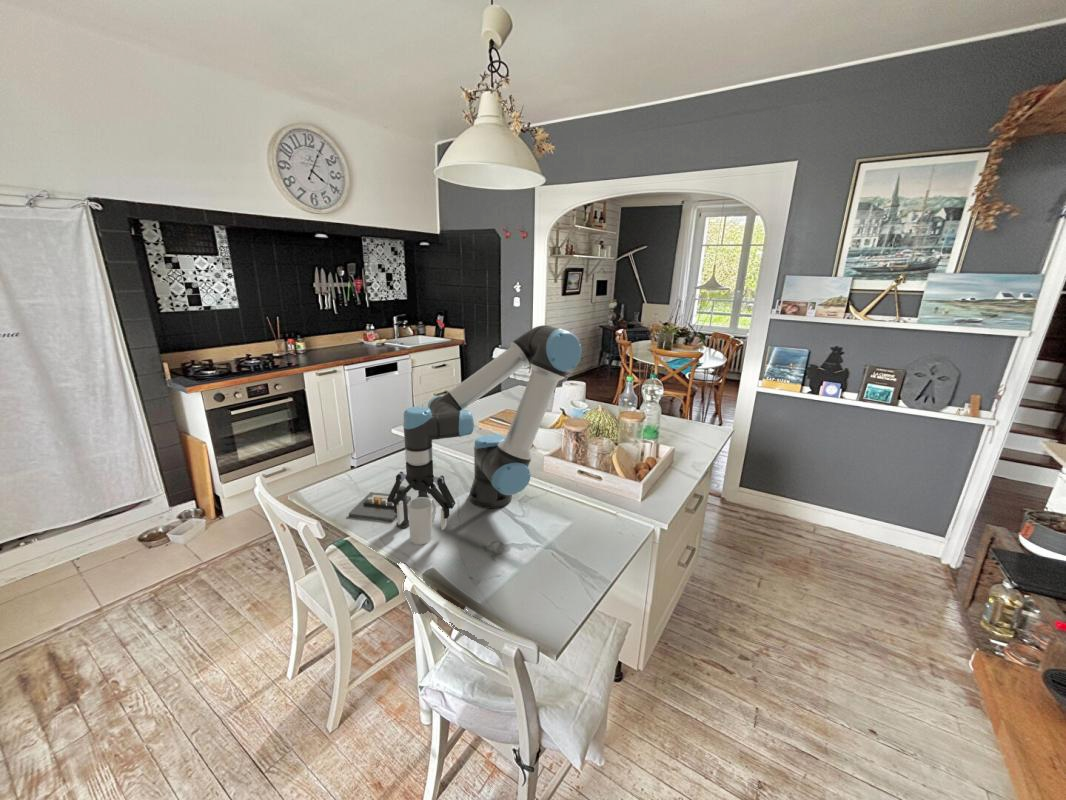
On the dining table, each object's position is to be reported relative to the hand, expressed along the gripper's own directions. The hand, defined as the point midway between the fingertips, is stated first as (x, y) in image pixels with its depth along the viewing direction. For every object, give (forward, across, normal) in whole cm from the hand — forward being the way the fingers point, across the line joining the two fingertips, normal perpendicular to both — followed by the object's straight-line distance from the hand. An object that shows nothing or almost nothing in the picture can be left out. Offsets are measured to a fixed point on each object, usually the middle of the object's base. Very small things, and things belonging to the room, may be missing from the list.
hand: (422, 524), depth 127 cm
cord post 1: (+4, +8, -4) cm, 10 cm away
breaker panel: (+4, +20, -12) cm, 23 cm away
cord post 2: (+4, +8, -20) cm, 22 cm away
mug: (+4, -1, 0) cm, 4 cm away
